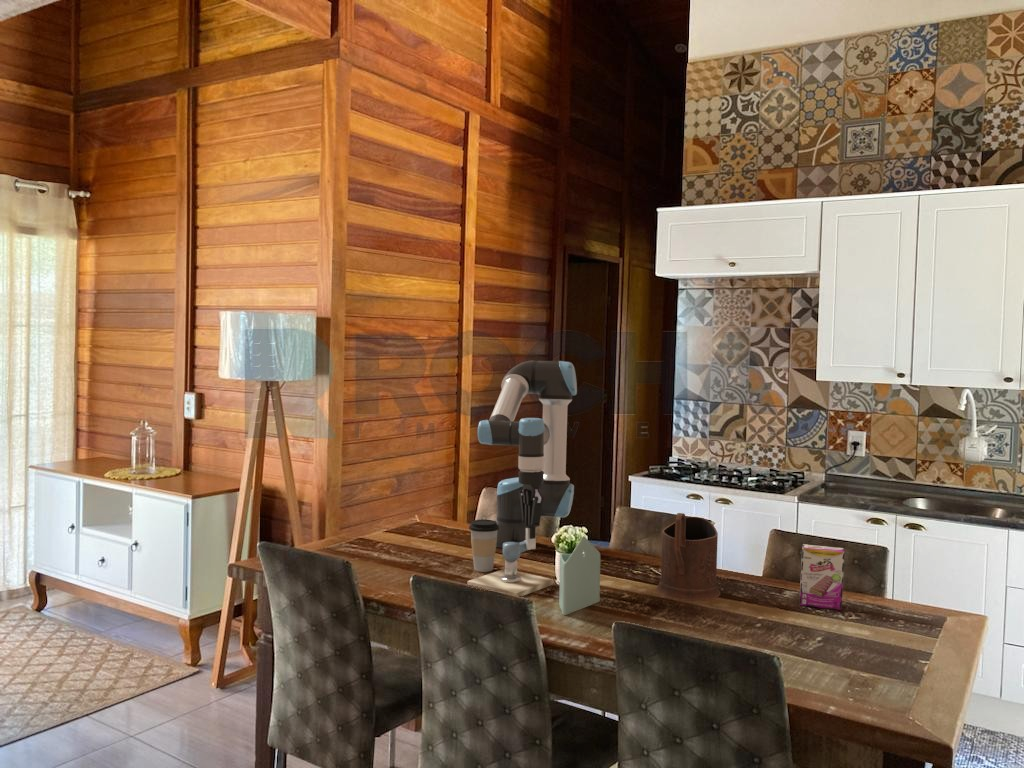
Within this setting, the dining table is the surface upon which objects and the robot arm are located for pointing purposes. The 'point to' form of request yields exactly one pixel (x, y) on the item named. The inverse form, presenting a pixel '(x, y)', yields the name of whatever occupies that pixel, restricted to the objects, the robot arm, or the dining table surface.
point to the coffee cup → (483, 543)
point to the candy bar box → (822, 576)
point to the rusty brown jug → (689, 559)
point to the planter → (579, 578)
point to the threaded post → (510, 572)
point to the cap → (513, 549)
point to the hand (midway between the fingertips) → (530, 548)
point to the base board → (521, 588)
